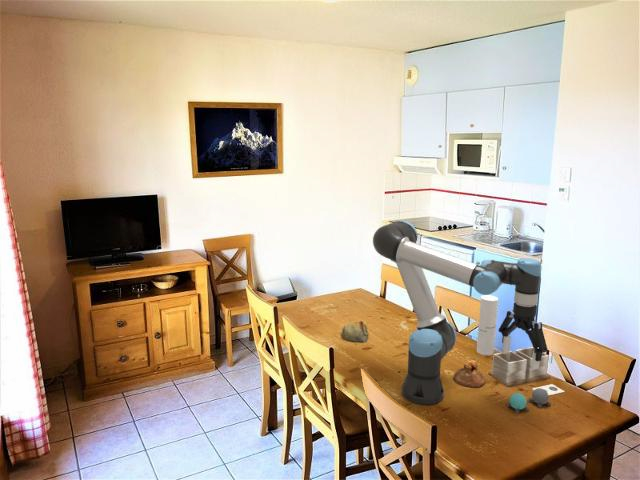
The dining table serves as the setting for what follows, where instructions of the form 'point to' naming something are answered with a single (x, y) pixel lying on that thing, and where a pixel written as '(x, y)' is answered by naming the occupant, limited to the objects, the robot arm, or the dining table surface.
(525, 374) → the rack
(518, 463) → the dining table surface
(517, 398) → the ball teal
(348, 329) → the grey green rock
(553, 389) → the dot card
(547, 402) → the small grey cubes
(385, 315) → the dining table surface
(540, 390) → the ball charcoal
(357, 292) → the dining table surface
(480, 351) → the cylindrical container
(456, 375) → the brown patterned pot lid
